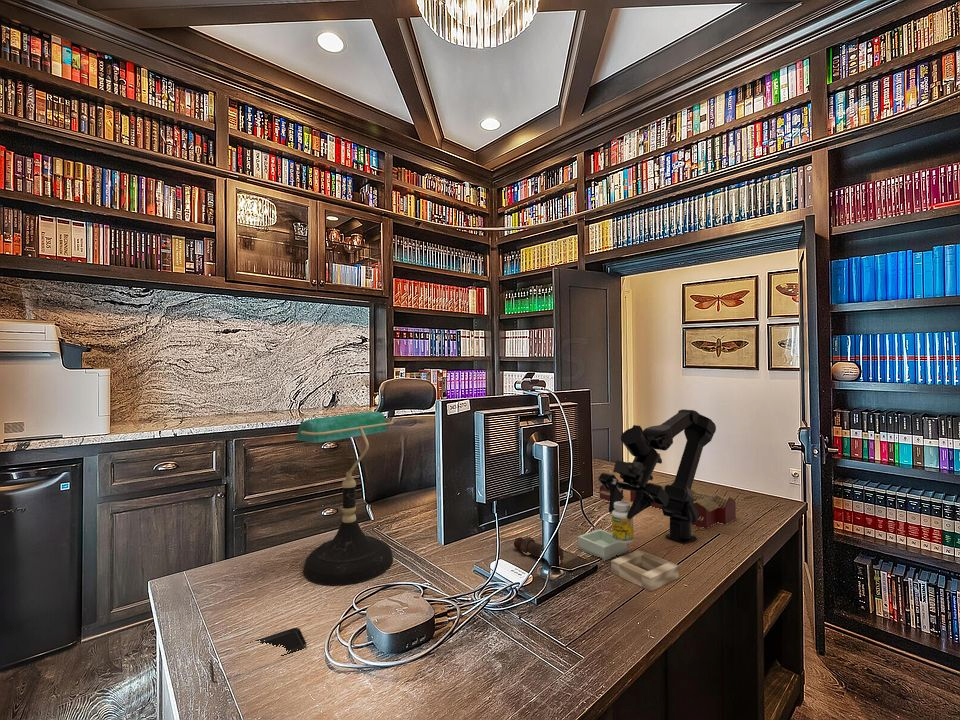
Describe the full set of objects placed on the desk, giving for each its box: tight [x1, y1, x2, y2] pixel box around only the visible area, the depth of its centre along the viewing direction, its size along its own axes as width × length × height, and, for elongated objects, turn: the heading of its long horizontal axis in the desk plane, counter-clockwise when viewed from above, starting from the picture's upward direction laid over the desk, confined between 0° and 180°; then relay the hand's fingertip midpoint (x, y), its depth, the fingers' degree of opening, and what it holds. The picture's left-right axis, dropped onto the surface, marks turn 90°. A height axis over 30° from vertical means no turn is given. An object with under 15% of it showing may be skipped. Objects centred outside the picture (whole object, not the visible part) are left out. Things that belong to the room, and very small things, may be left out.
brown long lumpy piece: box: [513, 536, 564, 562], centre depth 120 cm, size 6×5×15 cm
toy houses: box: [597, 481, 737, 529], centre depth 160 cm, size 45×20×10 cm, turn 40°
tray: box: [577, 528, 628, 561], centre depth 124 cm, size 10×10×4 cm
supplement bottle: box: [611, 500, 635, 544], centre depth 115 cm, size 5×5×10 cm
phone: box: [245, 627, 307, 656], centre depth 81 cm, size 8×1×15 cm
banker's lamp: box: [295, 411, 394, 586], centre depth 117 cm, size 26×23×40 cm
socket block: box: [610, 549, 680, 592], centre depth 109 cm, size 11×11×3 cm
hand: (618, 515), depth 115 cm, fingers closed on supplement bottle, 5 cm apart
